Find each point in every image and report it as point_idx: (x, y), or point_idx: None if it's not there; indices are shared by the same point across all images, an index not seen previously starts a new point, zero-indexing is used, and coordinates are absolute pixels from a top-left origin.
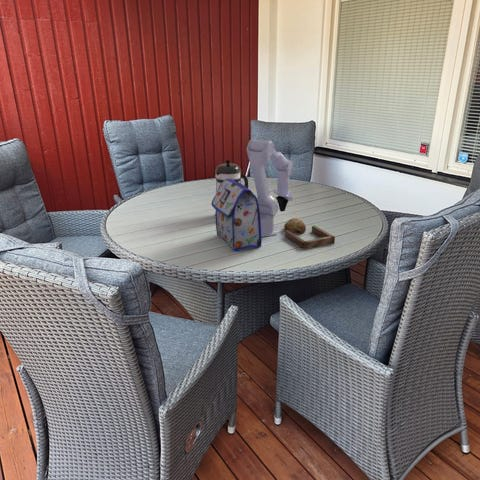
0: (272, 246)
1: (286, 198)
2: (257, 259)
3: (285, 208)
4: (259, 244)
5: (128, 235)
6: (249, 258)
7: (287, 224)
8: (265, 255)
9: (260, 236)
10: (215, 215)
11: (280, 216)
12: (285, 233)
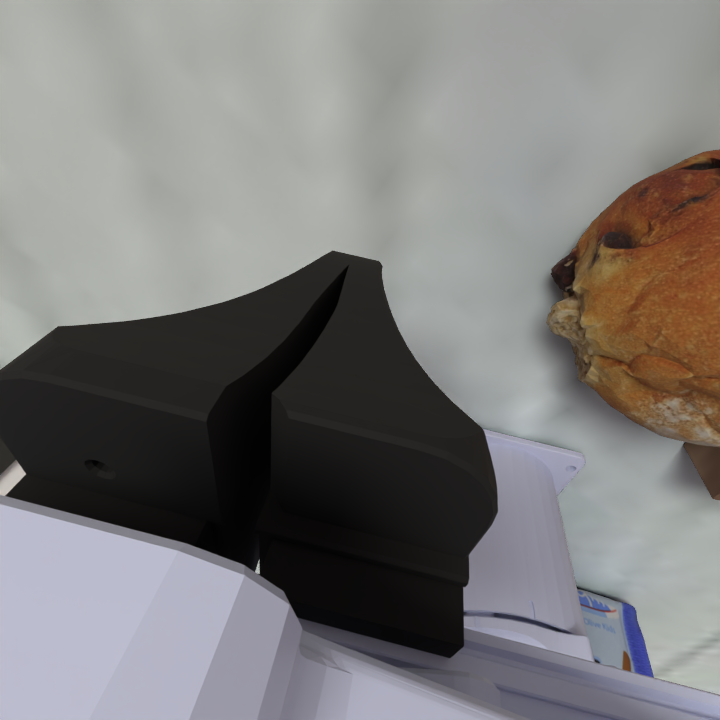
0: (685, 567)
1: (532, 681)
2: (698, 653)
3: (380, 278)
4: (622, 615)
5: None
6: (652, 654)
7: (679, 440)
8: (714, 629)
9: None
10: None
11: (144, 22)
12: (705, 476)
